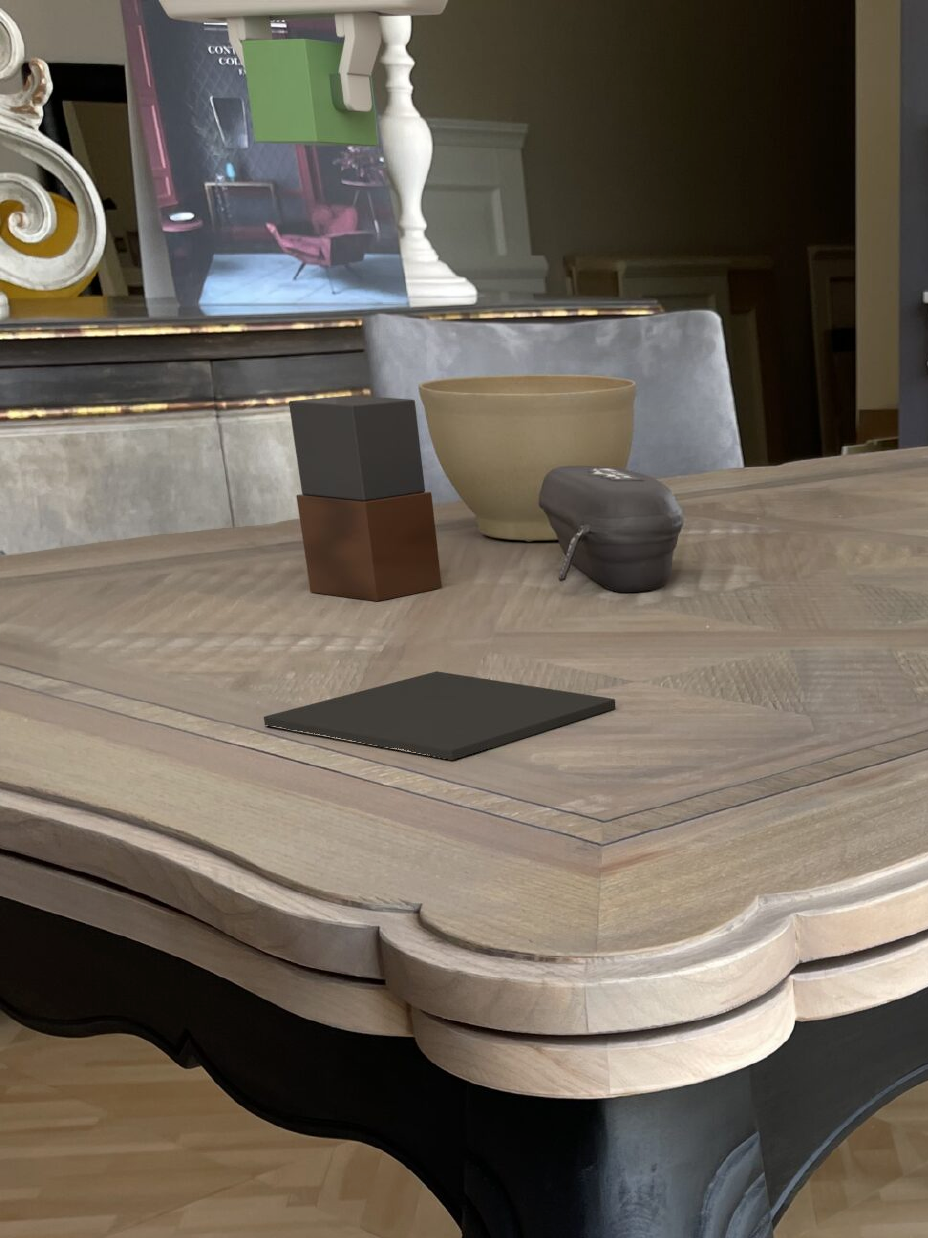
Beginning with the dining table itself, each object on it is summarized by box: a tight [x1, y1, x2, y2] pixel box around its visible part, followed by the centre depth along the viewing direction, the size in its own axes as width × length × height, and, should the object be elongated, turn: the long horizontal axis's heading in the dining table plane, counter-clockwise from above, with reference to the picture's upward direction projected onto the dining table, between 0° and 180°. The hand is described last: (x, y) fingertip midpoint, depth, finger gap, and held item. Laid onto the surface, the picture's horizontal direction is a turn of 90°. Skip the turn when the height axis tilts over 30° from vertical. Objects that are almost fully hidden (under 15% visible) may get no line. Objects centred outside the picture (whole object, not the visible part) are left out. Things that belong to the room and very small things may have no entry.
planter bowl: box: [418, 373, 637, 543], centre depth 139 cm, size 16×16×11 cm
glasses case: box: [538, 466, 684, 593], centre depth 124 cm, size 18×10×8 cm, turn 24°
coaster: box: [263, 670, 617, 761], centre depth 89 cm, size 12×12×1 cm
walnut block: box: [295, 490, 443, 602], centre depth 118 cm, size 6×6×6 cm
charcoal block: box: [288, 395, 426, 501], centre depth 115 cm, size 6×6×6 cm
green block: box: [242, 38, 380, 147], centre depth 105 cm, size 5×5×5 cm
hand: (313, 111), depth 105 cm, fingers closed on green block, 5 cm apart
